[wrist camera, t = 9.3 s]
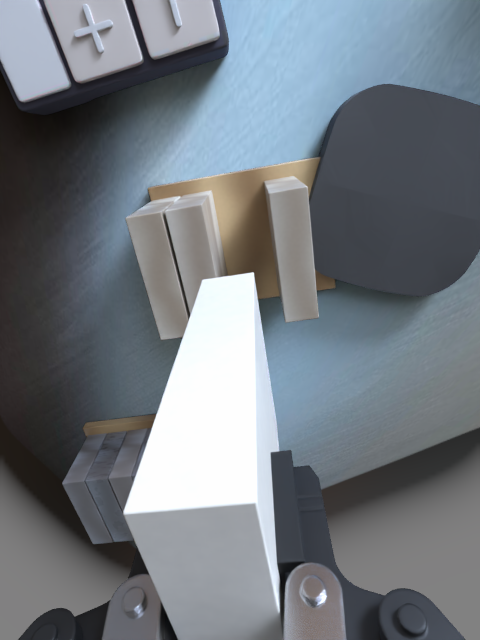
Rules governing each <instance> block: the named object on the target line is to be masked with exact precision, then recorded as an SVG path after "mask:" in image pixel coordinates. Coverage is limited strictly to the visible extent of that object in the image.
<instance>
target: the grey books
mask: <svg viewBox="0 0 480 640" xmlns="http://www.w3.org/2000/svg"><path fill="white" fill-rule="evenodd" d="M155 417H156V414H152V415H144V416H136V417H128V418H120V419H112V420H104V421H96V422H88V423H85V425H84V427H83V431H84V433H85V435H86V437H87V438H86V440H85V442H84V444H83V446H82V447H81V449H80V451H79V453H78V455H77V457H76V459H75V460H74V462H73V464H72V466H71V468H70V470H69V472H68V473H67V475H66V477H65V479H64V481H63V483H62V484H63V486H64V488H65V490H66V492H67V494H68V496H69V498H70V500H71V502H72V504H73V506H74V508H75V510H76V512H77V514H78V516H79V517H80V519H81V521H82V523H83V525H84V527H85V529H86V531H87V533H88V535H89V537H90V539H91V541H92V543H93V544H99V543H110V542H113V541H114V542H119V541H130V540H134V538H133V536H132V534H131V531H130V529H129V527H128V525H127V522H126V520H125V518H124V516H123V511H124V508H125V505H126V502H127V499H128V496H129V493H130V490H131V487H132V485H133V482H134V479H135V476H136V473H137V470H138V467H139V464H140V461H141V458H142V455H143V452H144V449H145V447H146V444H147V441H148V438H149V435H150V432H151V429H152V426H153V423H154V420H155Z"/></svg>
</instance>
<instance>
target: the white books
mask: <svg viewBox="0 0 480 640" xmlns="http://www.w3.org/2000/svg"><path fill="white" fill-rule="evenodd" d="M320 158H321V157H314V158H309V159H303V160H297V161H292V162H286V163H281V164H275V165H269V166H264V167H258V168H253V169H247V170H242V171H236V172H230V173H225V174H219V175H214V176H208V177H202V178H197V179H191V180H186V181H180V182H175V183H169V184H163V185H158V186H152V187H149V188H148V192H149V196H150V200H151V202H150V203H148V204H147V205H145V206H143V207H142V208H140V209H139V210H137V211H136V212H134V213H132V214H131V215H129V216H128V217H126V218H125V219H126V223H127V226H128V229H129V233H130V236H131V240H132V243H133V246H134V250H135V253H136V257H137V260H138V264H139V267H140V270H141V274H142V277H143V281H144V284H145V287H146V291H147V294H148V298H149V301H150V305H151V308H152V311H153V315H154V318H155V322H156V325H157V328H158V332H159V335H160V339H161V340H167V339H174V338H181V337H183V335H184V332H185V330H186V327H187V324H188V321H189V318H190V315H191V312H192V309H193V306H194V303H195V300H196V297H197V294H198V291H199V289H200V286H201V283H202V280H204V279H211V278H218V277H225V276H232V275H239V274H246V273H254V278H255V284H256V291H257V297H258V299H264V298H271V297H278V296H280V300H281V304H282V309H283V314H284V319H285V322H286V323H287V322H294V321H302V320H309V319H316V318H319V314H318V302H317V291H318V290H325V289H332V288H335V287H336V285H335V279H333V278H330V277H327V276H324V275H322V274H321V273H319V272H318V271H317V270H315V267H314V256H313V244H312V233H311V221H310V210H309V195H310V192H311V188H312V185H313V181H314V178H315V174H316V171H317V168H318V164H319V161H320Z"/></svg>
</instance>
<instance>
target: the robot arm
mask: <svg viewBox="0 0 480 640" xmlns="http://www.w3.org/2000/svg"><path fill="white" fill-rule="evenodd" d="M271 471H272V488H273V505H274V522H275V539H276V556H277V566H278V571H279V576H280V582H281V587H282V592H283V597H284V602H285V605H284V630H283V640H465V639H464V637H463V636H462V635H461V634H460V633H459V632H458V631H457V629H456V628H455V627H454V626H453V625H452V624H451V623H450V622H449V620H448V619H447V618H446V617H445V616H444V615H443V614H442V612H441V611H440V610H439V609H438V608H437V607H436V606H435V605H434V603H433V602H432V601H431V600H429V599H428V598H427V597H426V596H424V595H422V594H421V593H419V592H416V591H414V590H411V589H405V588H401V589H395V590H392V591H390V592H389V593H387V594H386V595H385V596H384V595H381V594H377V593H374V592H370V591H367V590H364V589H361V588H359V587H357V586H355V585H353V584H352V583H351V582H349V581H348V580H347V579H346V578H345V577H344V576H343V575H342V573H341V572H340V571H339V569H338V567H337V565H336V562H335V559H334V554H333V549H332V544H331V539H330V534H329V529H328V524H327V518H326V513H325V509H324V503H323V498H322V493H321V488H320V483H319V478H318V477H317V475H316V474H315V473H314V471H313V470H312V468H311V467H310V466H300V467H293V461H292V453H291V450H287V451H277V452H271ZM19 640H178V639H177V636H176V634H175V632H174V630H173V627H172V625H171V623H170V620H169V618H168V616H167V614H166V611H165V609H164V607H163V604H162V602H161V600H160V598H159V595H158V593H157V591H156V588H155V586H154V584H153V582H152V579H151V577H150V575H149V573H148V570H147V568H146V566H145V563H144V561H143V559H142V557H141V554H140V552H139V550H138V547H137V551H136V554H135V558H134V561H133V565H132V569H131V572H130V575H129V577H128V579H127V580H126V581H125V582H124V583H122V584H121V585H120V586H119V587H118V588H117V590H116V591H115V593H114V594H113V596H112V598H111V600H110V601H108V602H107V603H105V604H103V605H101V606H99V607H97V608H94V609H92V610H90V611H87V612H85V613H83V614H80V615H78V616H76V617H74V616H73V614H72V613H71V612H70V611H69V610H67V609H64V608H57V609H52V610H50V611H48V612H46V613H44V614H43V615H41V616H40V617H38V618H37V619H36V620H35V621H34V622H33V623H32V624H31V625H30V626H29V628H28V629H27V630H26V631H25V632H24V634H23V635H22V636H21V637H20V638H19Z"/></svg>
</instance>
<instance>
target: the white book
mask: <svg viewBox="0 0 480 640" xmlns="http://www.w3.org/2000/svg"><path fill="white" fill-rule="evenodd" d="M277 451H279V443H278V431H277V422H276V415H275V409H274V402H273V396H272V389H271V382H270V376H269V369H268V363H267V356H266V350H265V343H264V337H263V330H262V324H261V317H260V310H259V304H258V297H257V291H256V284H255V278H254V273H246V274H239V275H232V276H225V277H218V278H211V279H204V280H202V283H201V286H200V289H199V291H198V294H197V297H196V300H195V303H194V306H193V309H192V312H191V315H190V318H189V321H188V324H187V327H186V330H185V332H184V335H183V338H182V341H181V344H180V347H179V350H178V353H177V356H176V359H175V362H174V365H173V368H172V370H171V373H170V376H169V379H168V382H167V385H166V388H165V391H164V394H163V397H162V400H161V403H160V406H159V408H158V411H157V414H156V417H155V420H154V423H153V426H152V429H151V432H150V435H149V438H148V441H147V444H146V447H145V449H144V452H143V455H142V458H141V461H140V464H139V467H138V470H137V473H136V476H135V479H134V482H133V485H132V487H131V490H130V493H129V496H128V499H127V502H126V505H125V508H124V511H123V516H124V518H125V520H126V522H127V525H128V527H129V529H130V531H131V534H132V536H133V538H134V541H135V543H136V545H137V547H138V550H139V552H140V554H141V557H142V559H143V561H144V563H145V566H146V568H147V570H148V573H149V575H150V577H151V579H152V582H153V584H154V586H155V588H156V591H157V593H158V595H159V598H160V600H161V602H162V604H163V607H164V609H165V611H166V614H167V616H168V618H169V620H170V623H171V625H172V627H173V630H174V632H175V634H176V636H177V639H178V640H283V630H284V605H285V602H284V597H283V592H282V587H281V582H280V576H279V571H278V566H277V556H276V539H275V522H274V505H273V488H272V471H271V452H277Z"/></svg>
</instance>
